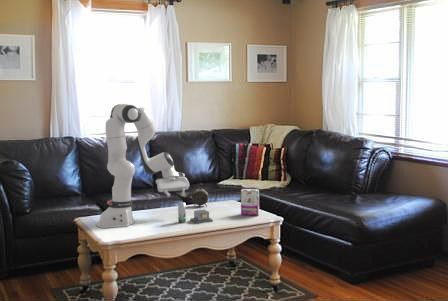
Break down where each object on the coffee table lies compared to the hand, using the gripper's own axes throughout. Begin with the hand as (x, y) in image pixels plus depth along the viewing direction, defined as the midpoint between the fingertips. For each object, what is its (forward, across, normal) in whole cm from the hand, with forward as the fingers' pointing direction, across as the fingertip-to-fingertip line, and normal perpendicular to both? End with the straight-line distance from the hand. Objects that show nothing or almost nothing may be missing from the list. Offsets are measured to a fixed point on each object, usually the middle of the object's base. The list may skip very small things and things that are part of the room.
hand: (176, 195), depth 341 cm
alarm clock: (-8, +27, +29) cm, 41 cm away
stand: (+19, +12, +2) cm, 22 cm away
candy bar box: (+19, +46, +3) cm, 49 cm away
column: (+17, 0, +4) cm, 18 cm away
